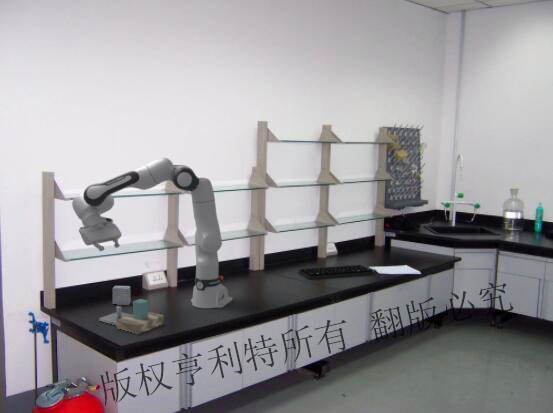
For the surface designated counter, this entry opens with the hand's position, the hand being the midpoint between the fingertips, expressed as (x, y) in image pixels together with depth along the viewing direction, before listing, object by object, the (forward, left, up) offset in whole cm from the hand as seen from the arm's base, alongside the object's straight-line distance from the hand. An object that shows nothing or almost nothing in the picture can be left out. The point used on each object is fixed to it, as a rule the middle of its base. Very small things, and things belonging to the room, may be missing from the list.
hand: (110, 248), depth 255 cm
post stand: (+4, +9, -31) cm, 33 cm away
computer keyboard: (-134, +57, -32) cm, 149 cm away
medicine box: (-14, -7, -32) cm, 35 cm away
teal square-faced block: (+4, +22, -27) cm, 35 cm away
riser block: (+4, +22, -31) cm, 38 cm away
